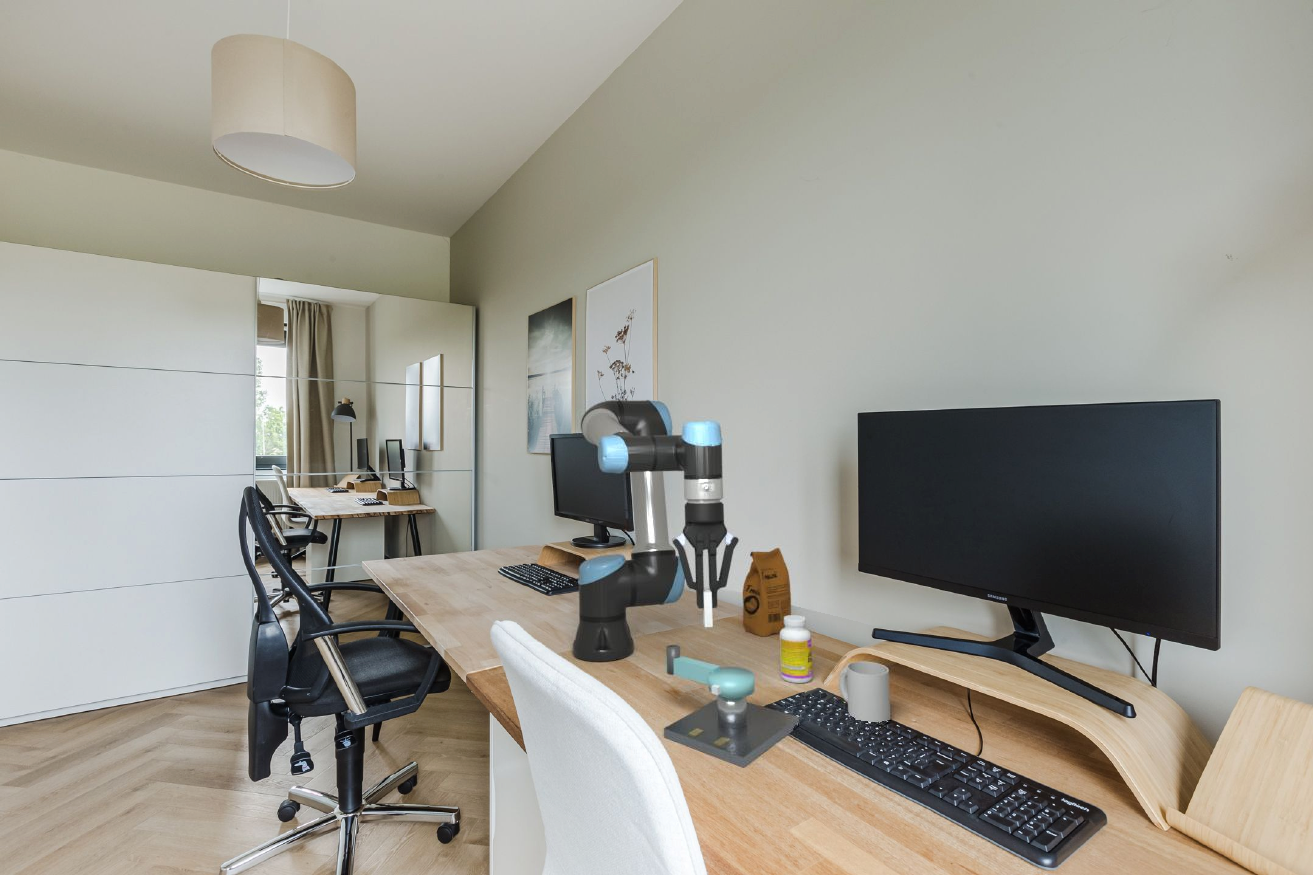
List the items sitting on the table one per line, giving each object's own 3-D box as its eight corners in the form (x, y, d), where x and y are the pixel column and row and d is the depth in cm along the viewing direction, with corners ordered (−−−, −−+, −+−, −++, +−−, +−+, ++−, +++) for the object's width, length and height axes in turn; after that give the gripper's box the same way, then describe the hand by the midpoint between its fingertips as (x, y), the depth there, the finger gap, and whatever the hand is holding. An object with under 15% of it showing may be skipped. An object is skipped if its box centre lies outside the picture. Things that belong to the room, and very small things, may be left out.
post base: (663, 737, 100) (663, 695, 101) (724, 702, 114) (723, 666, 114) (743, 767, 90) (742, 721, 90) (799, 725, 104) (798, 685, 104)
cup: (873, 730, 101) (871, 678, 101) (827, 710, 110) (826, 662, 110) (899, 720, 105) (897, 669, 105) (853, 701, 113) (851, 654, 114)
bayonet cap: (766, 685, 103) (765, 658, 104) (734, 703, 96) (734, 674, 96) (684, 663, 115) (684, 639, 116) (651, 678, 108) (650, 652, 108)
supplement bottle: (813, 685, 122) (811, 622, 122) (780, 683, 123) (779, 621, 124) (811, 673, 128) (809, 614, 129) (780, 672, 130) (778, 613, 130)
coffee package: (738, 630, 162) (735, 549, 163) (771, 622, 169) (769, 545, 170) (762, 639, 154) (759, 554, 155) (796, 630, 160) (794, 549, 161)
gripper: (672, 503, 109) (675, 632, 108) (741, 501, 110) (745, 628, 109) (668, 501, 117) (671, 621, 116) (733, 499, 118) (737, 618, 117)
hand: (707, 624), depth 112 cm, fingers closed
